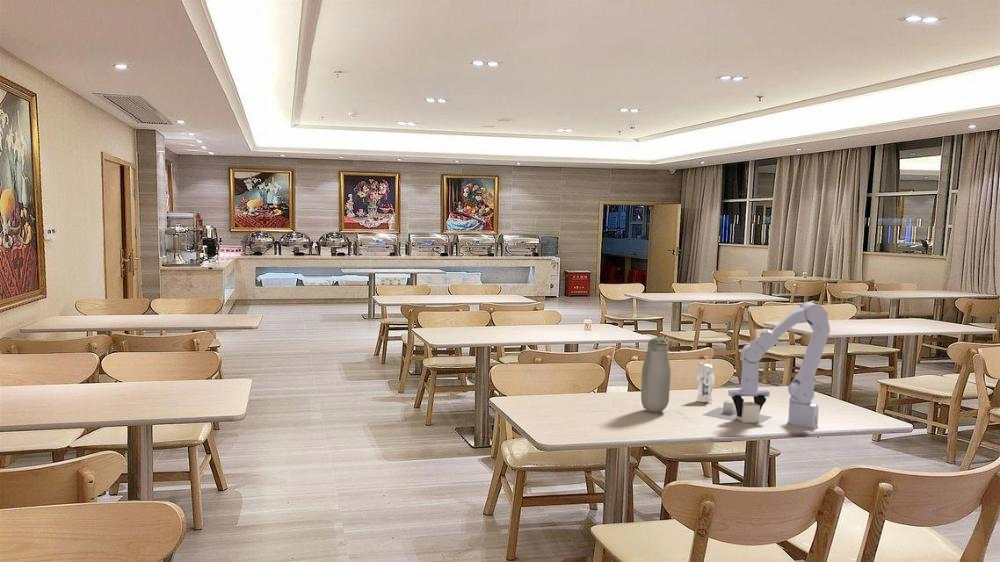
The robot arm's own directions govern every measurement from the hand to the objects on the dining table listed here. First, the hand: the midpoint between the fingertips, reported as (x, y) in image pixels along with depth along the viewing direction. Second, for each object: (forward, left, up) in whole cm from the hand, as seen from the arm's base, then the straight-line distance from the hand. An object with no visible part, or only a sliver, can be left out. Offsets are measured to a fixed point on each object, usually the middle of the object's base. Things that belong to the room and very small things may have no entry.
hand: (747, 416), depth 260 cm
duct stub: (+9, -6, -3) cm, 11 cm away
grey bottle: (+32, +9, -3) cm, 33 cm away
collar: (0, 0, -1) cm, 1 cm away
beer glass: (+25, -21, -3) cm, 33 cm away
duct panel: (+5, -3, -3) cm, 7 cm away
